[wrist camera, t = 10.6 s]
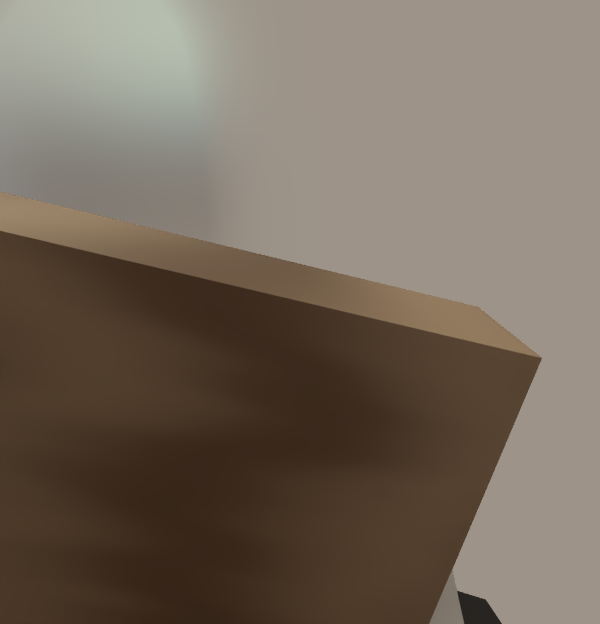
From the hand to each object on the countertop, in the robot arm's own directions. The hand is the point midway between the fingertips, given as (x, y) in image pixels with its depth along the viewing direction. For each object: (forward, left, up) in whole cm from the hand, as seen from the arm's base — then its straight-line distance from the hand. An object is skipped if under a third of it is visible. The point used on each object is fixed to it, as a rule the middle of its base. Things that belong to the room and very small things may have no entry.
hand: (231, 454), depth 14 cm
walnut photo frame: (0, -5, -7) cm, 9 cm away
